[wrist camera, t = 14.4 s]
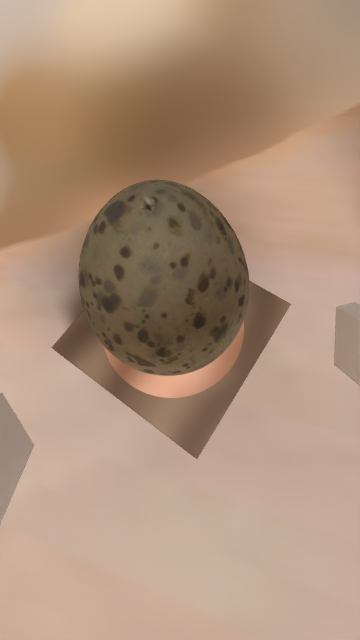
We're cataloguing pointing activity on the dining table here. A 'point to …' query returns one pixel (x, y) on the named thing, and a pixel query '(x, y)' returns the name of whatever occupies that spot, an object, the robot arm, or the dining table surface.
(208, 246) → the decorative egg
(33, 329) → the dining table surface
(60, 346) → the pedestal
